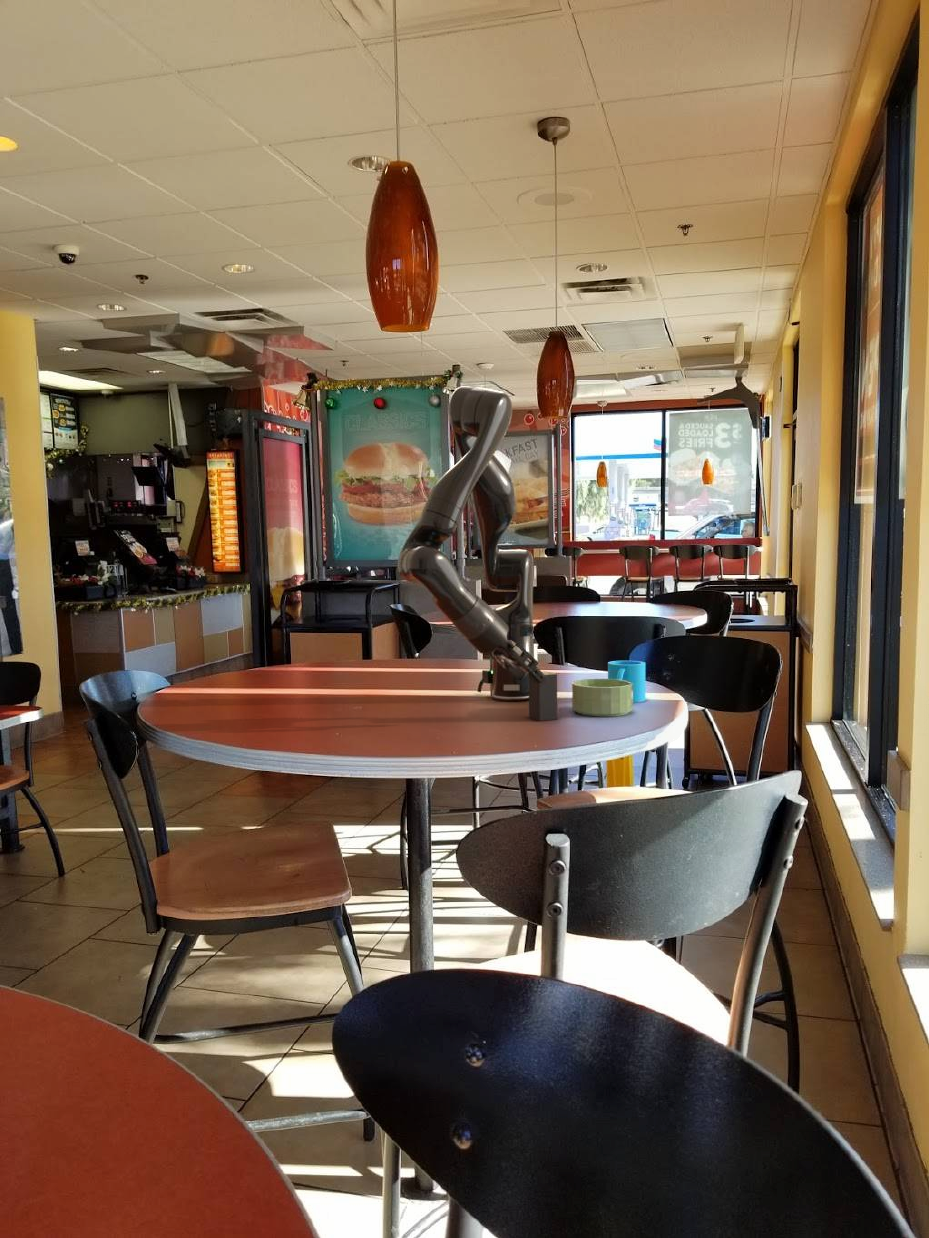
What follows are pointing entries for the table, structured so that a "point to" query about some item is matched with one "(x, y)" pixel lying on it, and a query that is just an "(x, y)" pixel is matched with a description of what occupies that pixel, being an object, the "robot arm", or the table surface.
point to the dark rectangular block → (543, 698)
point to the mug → (630, 676)
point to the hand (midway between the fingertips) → (532, 679)
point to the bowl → (602, 697)
